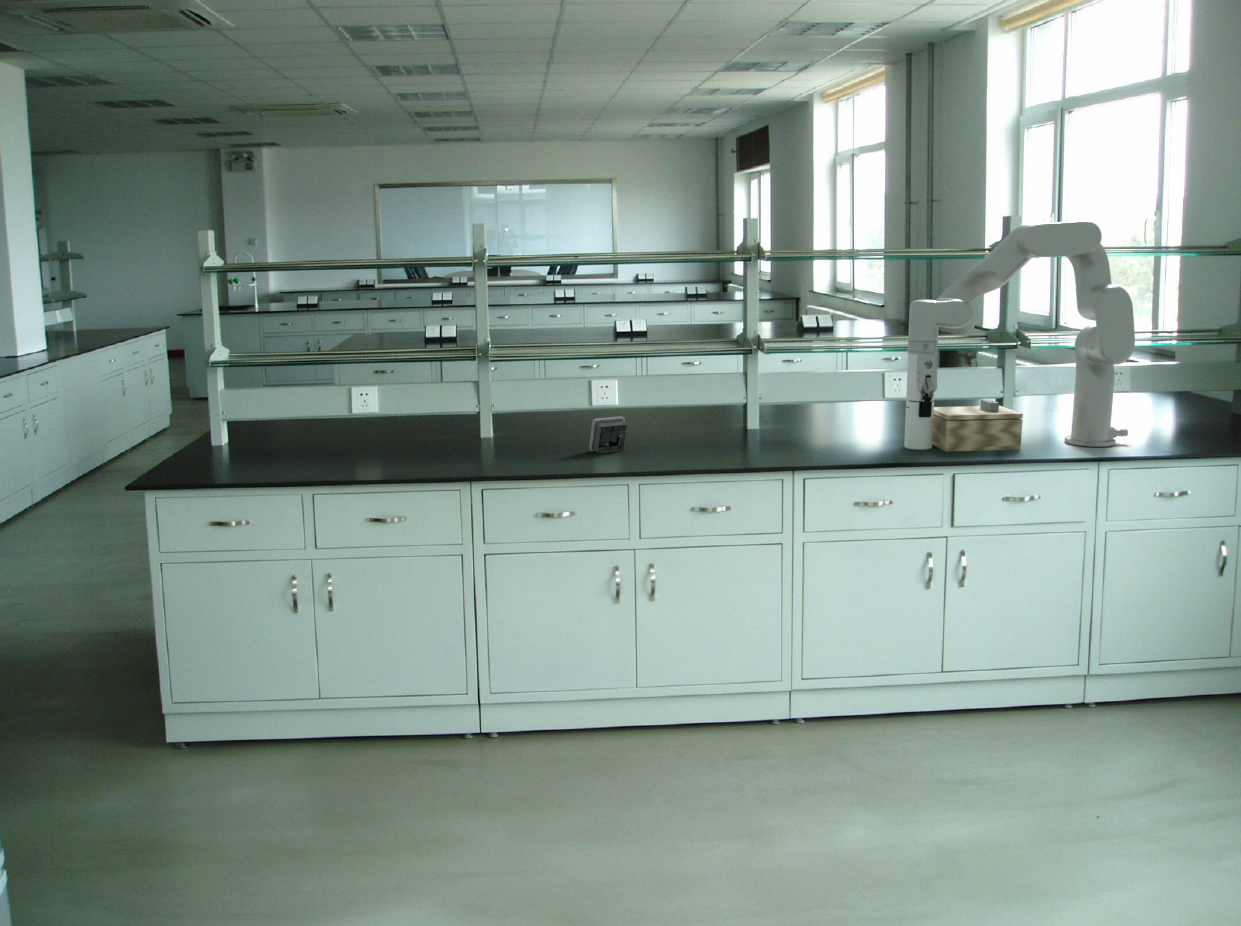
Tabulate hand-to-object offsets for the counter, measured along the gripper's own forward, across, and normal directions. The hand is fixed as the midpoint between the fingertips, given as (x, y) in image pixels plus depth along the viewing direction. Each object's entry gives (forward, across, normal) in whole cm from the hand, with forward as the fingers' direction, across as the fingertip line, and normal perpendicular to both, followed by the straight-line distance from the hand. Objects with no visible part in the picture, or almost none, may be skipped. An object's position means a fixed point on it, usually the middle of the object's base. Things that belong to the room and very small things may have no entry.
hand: (919, 414), depth 283 cm
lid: (0, 0, -15) cm, 15 cm away
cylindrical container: (+9, 0, 0) cm, 9 cm away
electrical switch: (+9, +5, +82) cm, 83 cm away
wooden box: (+9, 0, -15) cm, 17 cm away
